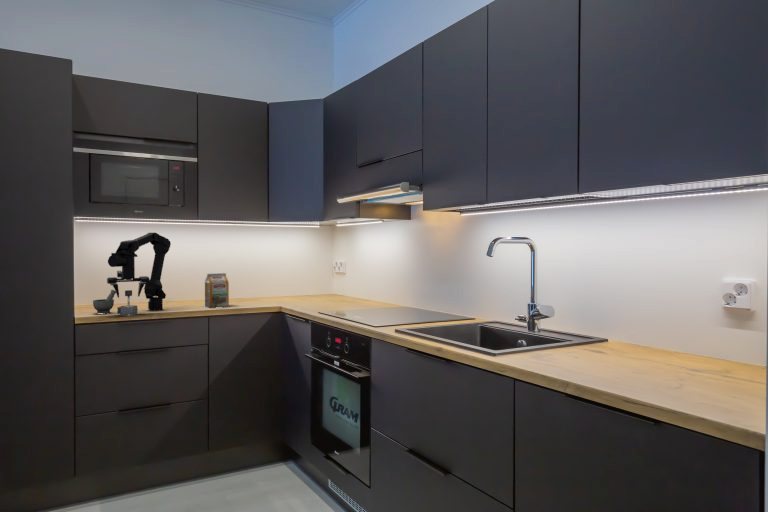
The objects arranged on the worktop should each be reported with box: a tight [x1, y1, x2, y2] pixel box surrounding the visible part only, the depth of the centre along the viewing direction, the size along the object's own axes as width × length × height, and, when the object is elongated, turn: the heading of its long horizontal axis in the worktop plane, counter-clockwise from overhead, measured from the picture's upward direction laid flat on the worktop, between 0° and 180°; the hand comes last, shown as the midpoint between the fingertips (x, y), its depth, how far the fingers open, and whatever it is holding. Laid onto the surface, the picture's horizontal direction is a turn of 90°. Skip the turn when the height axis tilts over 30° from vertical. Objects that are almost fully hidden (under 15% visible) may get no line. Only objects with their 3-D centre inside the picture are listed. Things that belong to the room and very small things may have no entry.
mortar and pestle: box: [92, 289, 116, 314], centre depth 267 cm, size 11×9×12 cm
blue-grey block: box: [116, 304, 139, 317], centre depth 261 cm, size 9×8×4 cm
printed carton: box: [204, 272, 230, 309], centre depth 296 cm, size 11×11×19 cm
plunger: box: [123, 289, 133, 307], centre depth 261 cm, size 5×5×9 cm
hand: (128, 297), depth 261 cm, fingers open, 9 cm apart
